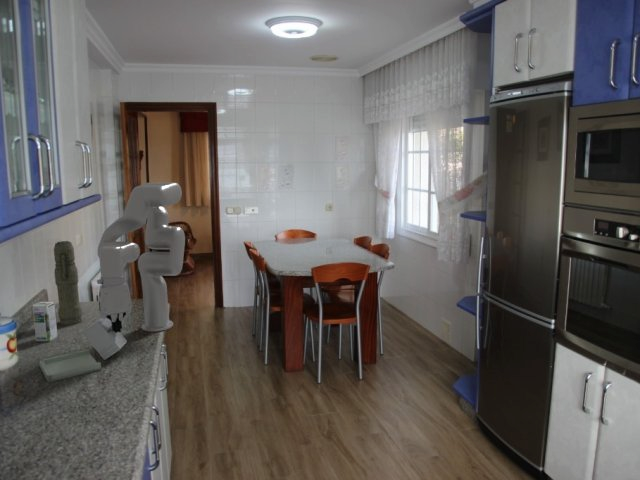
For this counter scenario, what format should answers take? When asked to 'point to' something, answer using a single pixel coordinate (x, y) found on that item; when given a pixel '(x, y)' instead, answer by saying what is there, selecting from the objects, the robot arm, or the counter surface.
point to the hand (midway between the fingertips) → (117, 331)
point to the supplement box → (104, 337)
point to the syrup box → (45, 321)
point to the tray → (68, 365)
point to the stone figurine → (67, 284)
